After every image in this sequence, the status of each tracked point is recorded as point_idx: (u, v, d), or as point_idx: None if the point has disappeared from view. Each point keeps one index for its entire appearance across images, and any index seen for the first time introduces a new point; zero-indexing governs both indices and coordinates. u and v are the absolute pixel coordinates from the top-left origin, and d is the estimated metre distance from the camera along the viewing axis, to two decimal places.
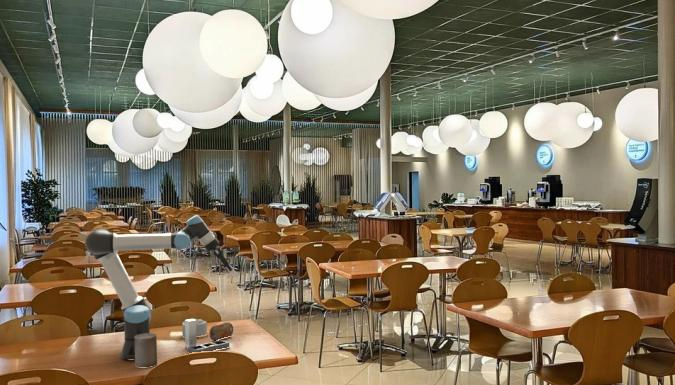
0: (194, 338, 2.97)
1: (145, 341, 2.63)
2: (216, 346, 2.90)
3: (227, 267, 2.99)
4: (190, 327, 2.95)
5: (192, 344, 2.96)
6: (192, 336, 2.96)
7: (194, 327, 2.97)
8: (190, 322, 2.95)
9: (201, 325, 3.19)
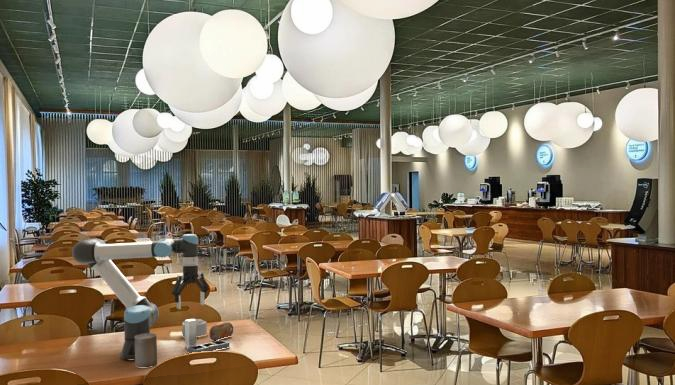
0: (194, 338, 2.97)
1: (145, 341, 2.63)
2: (216, 346, 2.90)
3: (175, 297, 2.92)
4: (190, 327, 2.95)
5: (192, 344, 2.96)
6: (192, 336, 2.96)
7: (194, 327, 2.97)
8: (190, 322, 2.95)
9: (201, 325, 3.19)
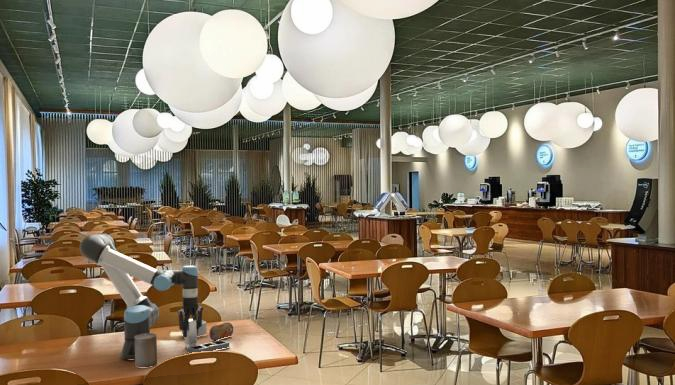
0: (194, 338, 2.97)
1: (145, 341, 2.63)
2: (216, 346, 2.90)
3: (183, 331, 2.95)
4: (190, 327, 2.95)
5: (192, 344, 2.96)
6: (192, 336, 2.96)
7: (194, 327, 2.97)
8: (190, 322, 2.95)
9: None
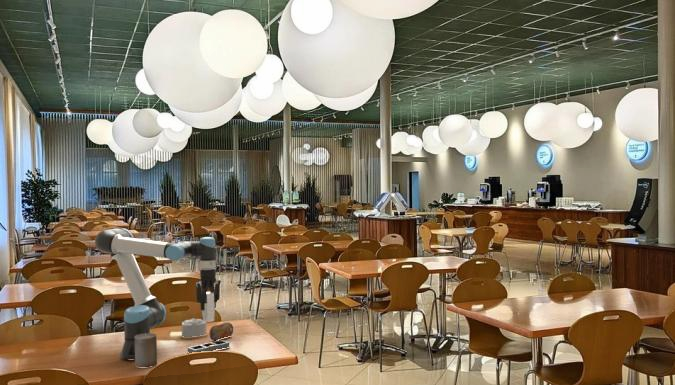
0: (212, 312, 2.90)
1: (145, 341, 2.63)
2: (216, 346, 2.90)
3: None
4: (208, 300, 2.88)
5: (210, 317, 2.89)
6: (210, 309, 2.89)
7: (212, 300, 2.90)
8: (208, 295, 2.88)
9: (201, 325, 3.19)
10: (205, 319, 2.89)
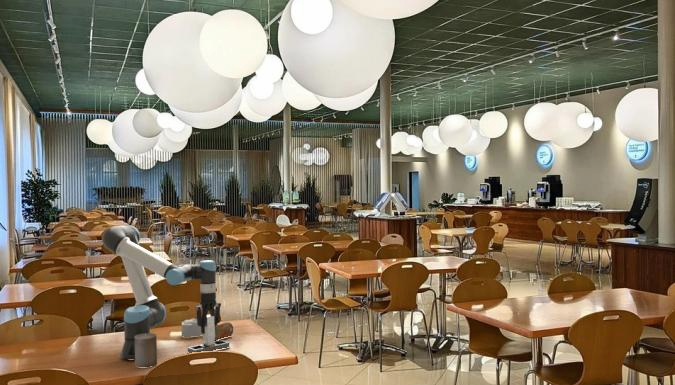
0: (212, 335, 2.90)
1: (145, 341, 2.63)
2: (216, 346, 2.90)
3: (201, 328, 2.89)
4: (208, 323, 2.89)
5: (210, 340, 2.89)
6: (210, 332, 2.89)
7: (212, 323, 2.90)
8: (208, 318, 2.89)
9: None
10: (205, 342, 2.89)
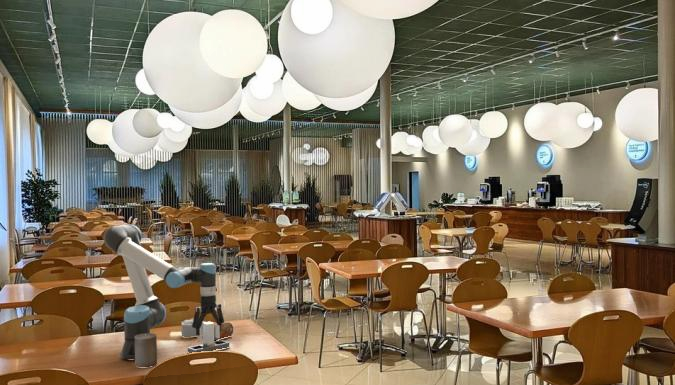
0: (212, 342, 2.90)
1: (145, 341, 2.63)
2: (216, 346, 2.90)
3: (196, 329, 2.87)
4: (208, 330, 2.89)
5: None
6: (210, 339, 2.89)
7: (212, 330, 2.90)
8: (208, 325, 2.89)
9: (201, 325, 3.19)
10: None
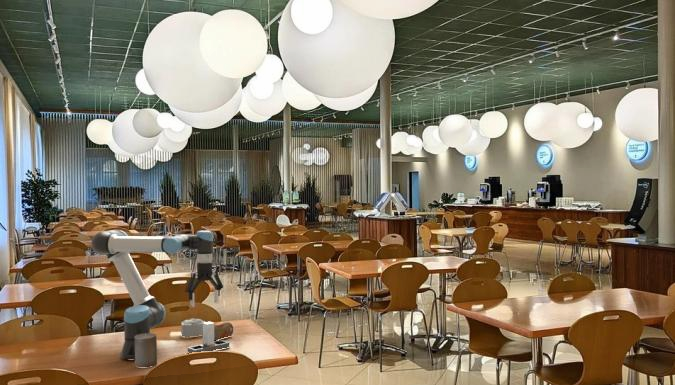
0: (212, 342, 2.90)
1: (145, 341, 2.63)
2: (216, 346, 2.90)
3: None
4: (208, 330, 2.89)
5: None
6: (210, 339, 2.89)
7: (212, 330, 2.90)
8: (208, 325, 2.89)
9: (200, 325, 3.19)
10: None
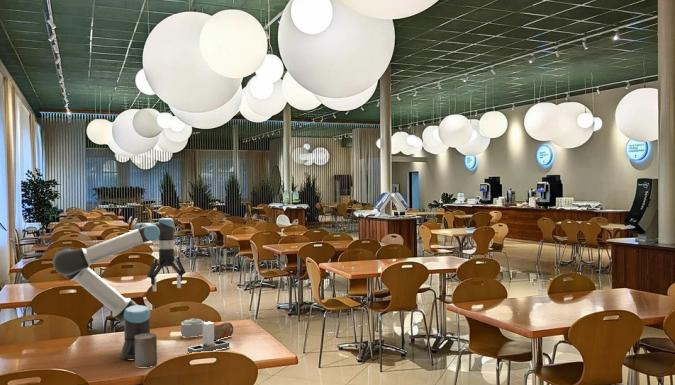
0: (212, 342, 2.90)
1: (145, 341, 2.63)
2: (216, 346, 2.90)
3: (151, 279, 2.97)
4: (208, 330, 2.89)
5: None
6: (210, 339, 2.89)
7: (212, 330, 2.90)
8: (208, 325, 2.89)
9: (200, 325, 3.19)
10: None
